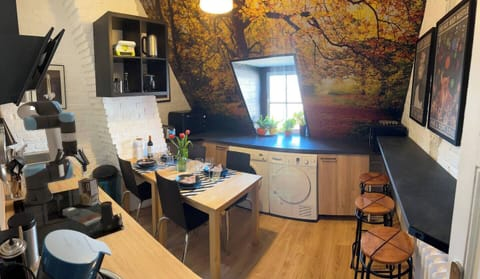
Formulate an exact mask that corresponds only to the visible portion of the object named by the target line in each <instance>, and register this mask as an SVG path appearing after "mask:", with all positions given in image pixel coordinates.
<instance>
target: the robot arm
mask: <svg viewBox="0 0 480 279" xmlns="http://www.w3.org/2000/svg"><path fill="white" fill-rule="evenodd" d="M16 114H17V116H18V118H20V120H22V121H23V122H22V123H23V127H24V130H25V131H29V132H30V131H42V130H45V137H46V142H47V148H48V153H49V158H50V160H49V161H48V164H46V163H44V162H43V163H42V162H40V163H34V164H31V165H29V166H27V167H25V168H24V169H23V177H24V183H25V189H26V191H25V196H24V205H26V206H39V205H42V204H46V203H49V202H50V201H52V200H54V196H53V195H54V194H53V193H52V191H51V190H50V188H49V184H50V183H52V184H53V183H56V182H62V181H65V180H70V179H72V178H73V175H74V164H73V162H72V160H69V158H68V157H70V158H71V157H73V158H74V159H76V161H77V162H78V163H79V164H80V165H81V166H80V169H81V178H82V179H84V178H87V171H88V168H87V166H89V165H90V161H89V159H88V157H87V156H86V154H85V152H84V149H83V148H78V140H77V139H78V137H77V129H76V117H75V114H74V112H72V111H71V112H70V111H65V112H64V111H63V109H62V106H61V104H60V102H59V101H56V100H43V101H40V100H39V101H27V102H24V103H22V104H20V106H18V108H17V110H16Z"/></svg>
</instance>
